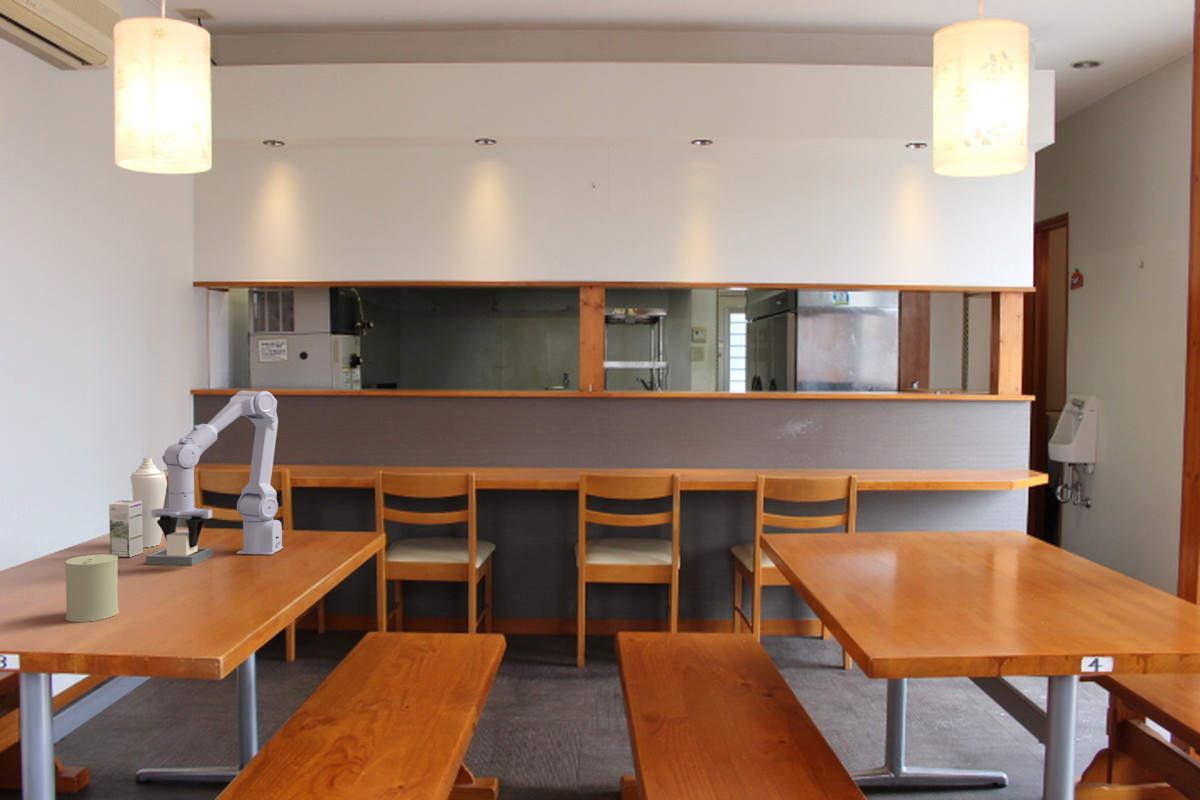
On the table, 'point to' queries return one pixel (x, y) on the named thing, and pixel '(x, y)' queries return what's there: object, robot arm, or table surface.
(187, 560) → the slate dish
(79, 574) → the can
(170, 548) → the cream cube
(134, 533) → the syrup box
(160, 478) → the spray can
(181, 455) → the robot arm
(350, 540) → the table surface
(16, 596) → the table surface
